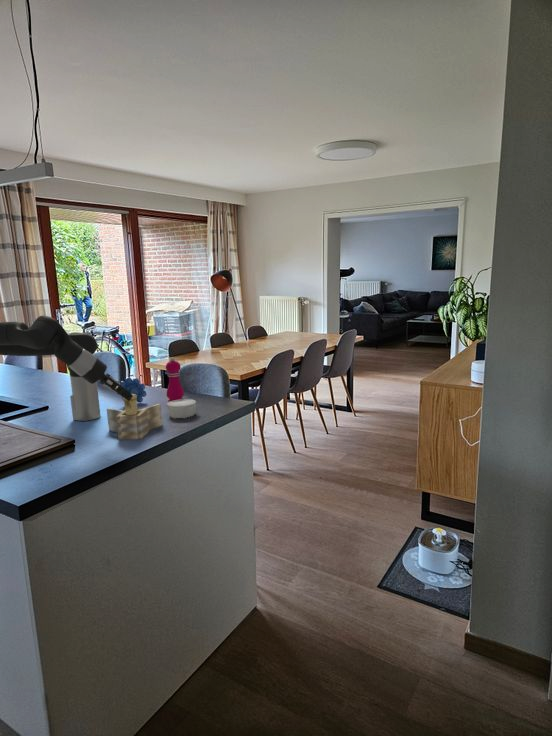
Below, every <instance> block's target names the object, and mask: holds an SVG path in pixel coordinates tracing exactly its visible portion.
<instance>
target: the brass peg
mask: <svg viewBox="0 0 552 736" xmlns="http://www.w3.org/2000/svg"><path fill="white" fill-rule="evenodd" d="M132 395H133V397H132V398H131V399H130V400H129V401H128V400H127V399H125V398H124V397H123V399H122V401H123V400H124V401H123V404H124V410H125V415H138V410H139V409H138V402H137V400H136V399H137V395H136V394H132Z"/></svg>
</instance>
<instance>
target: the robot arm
mask: <svg viewBox="0 0 552 736" xmlns="http://www.w3.org/2000/svg"><path fill="white" fill-rule="evenodd" d="M97 349H98V342H97V340H96V338H94V337H93V336H92V335H90V334H89V333H85V332H70V333H68V332H67V331H66V330H65V328H64V327H63V326H62V325H61V324H60V322H59V321H58V320H57V319H55V318H53V317H52V316H49V315H39V316H38V317H37V318H35V320H34V322H33V323H32V324H31V326H30V327H29V326H28V325H27V323H25V322H23V321H0V356H10V357H11V356H13V357H43V356H54V357H56V358H57V359H58V360H59V361H61V362H62V363H63V364H65V365H66V367H67V370H68V372H69V380H70V387H71V393H72V394H71V395H69V396H70V397H69V398H70V405H71V413H72V420H73V421H77V420H78V421H80V422H83V421H84V422H88V421H94V420H97V419H99V418H100V417H101V407H100V399H99V388H98V381H99V384H101V385H102V386H103V387H104V388H107V389H109V390H110V391H111V392H115V393H117V395H119V396H120V397H122V396H123V397H124V398H125V399H127V400H128V401H129V400H130V399H131V398H132V397H133V395H132V394H130V393H129V392H128V391H126V390H125V389H124V387H122V386H121V385H120V382H119V381H118V380H116V379H115V378H114V377H113V376H112V375H111V374H109V373H108V372H107V373H106V371H107V368H108V365H107V364H106V363H104V362H103V361H102V360H101V359H99V358H98V357H97V356H95V355H94V354H95V353H96V351H97ZM105 373H106V374H105ZM78 421H77V422H78Z"/></svg>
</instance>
